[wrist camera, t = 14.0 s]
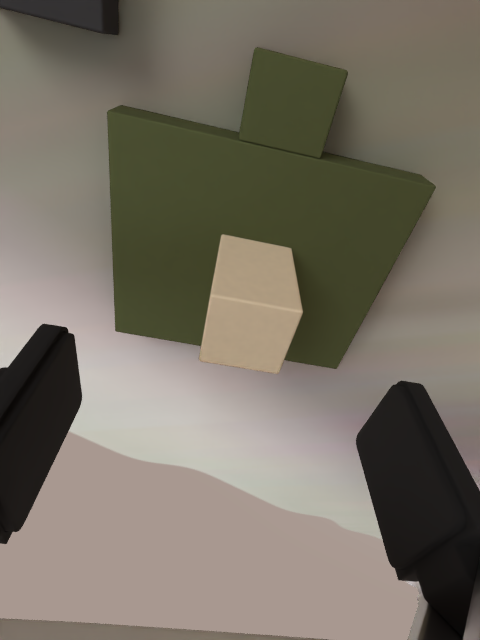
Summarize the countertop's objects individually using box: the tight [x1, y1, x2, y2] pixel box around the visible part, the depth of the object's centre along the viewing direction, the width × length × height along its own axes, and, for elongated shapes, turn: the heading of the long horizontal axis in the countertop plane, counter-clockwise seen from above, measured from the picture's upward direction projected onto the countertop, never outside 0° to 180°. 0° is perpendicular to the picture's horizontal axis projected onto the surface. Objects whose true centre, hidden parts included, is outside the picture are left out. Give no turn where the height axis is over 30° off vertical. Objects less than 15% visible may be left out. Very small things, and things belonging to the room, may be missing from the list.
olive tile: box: [107, 47, 436, 374], centre depth 13 cm, size 12×13×6 cm
